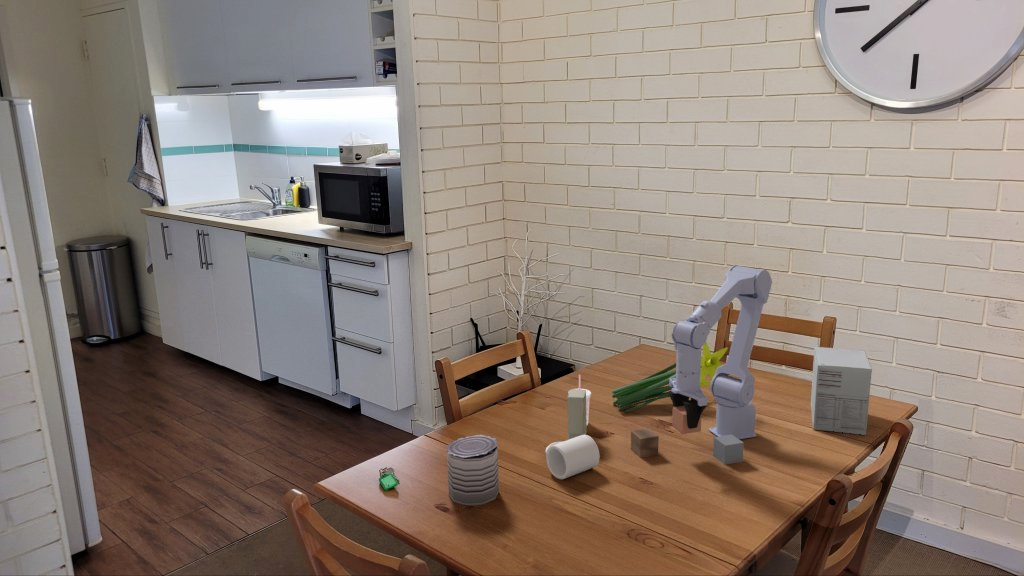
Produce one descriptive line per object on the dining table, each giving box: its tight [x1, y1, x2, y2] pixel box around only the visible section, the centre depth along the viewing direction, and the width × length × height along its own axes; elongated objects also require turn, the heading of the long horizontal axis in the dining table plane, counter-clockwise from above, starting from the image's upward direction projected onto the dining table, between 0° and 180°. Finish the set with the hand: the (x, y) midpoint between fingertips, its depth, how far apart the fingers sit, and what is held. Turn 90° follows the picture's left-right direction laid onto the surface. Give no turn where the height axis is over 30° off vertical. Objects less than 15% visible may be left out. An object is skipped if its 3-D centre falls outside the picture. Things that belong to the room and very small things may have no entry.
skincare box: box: [566, 388, 588, 440], centre depth 196 cm, size 6×4×12 cm
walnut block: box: [630, 427, 660, 458], centre depth 187 cm, size 5×5×5 cm
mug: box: [544, 434, 600, 480], centre depth 179 cm, size 12×10×8 cm
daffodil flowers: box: [610, 341, 729, 414], centre depth 216 cm, size 17×15×35 cm
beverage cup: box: [567, 374, 592, 426], centre depth 204 cm, size 6×6×14 cm
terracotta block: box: [671, 406, 703, 435], centre depth 183 cm, size 5×5×5 cm
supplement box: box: [810, 346, 873, 436], centre depth 202 cm, size 17×13×18 cm
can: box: [446, 434, 500, 506], centre depth 168 cm, size 11×11×12 cm
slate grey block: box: [712, 434, 745, 465], centre depth 182 cm, size 5×5×5 cm
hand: (686, 423), depth 183 cm, fingers closed on terracotta block, 5 cm apart
